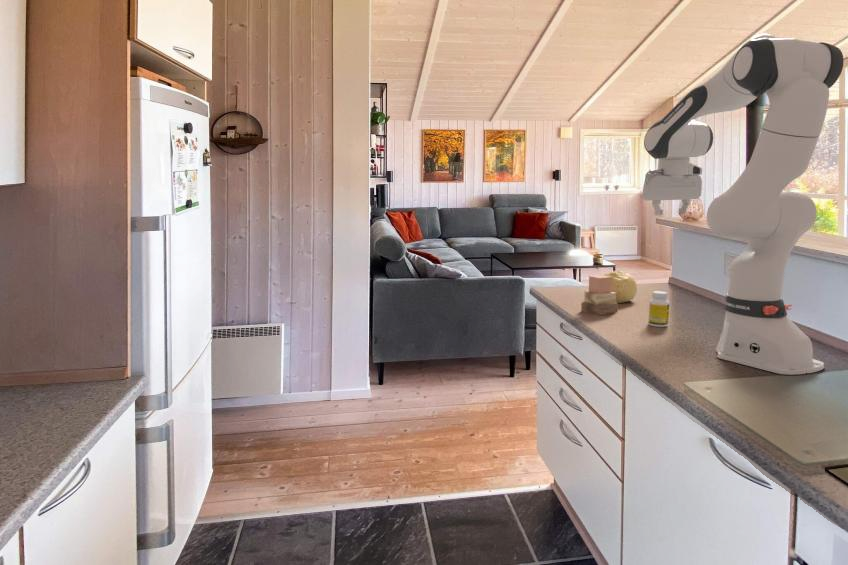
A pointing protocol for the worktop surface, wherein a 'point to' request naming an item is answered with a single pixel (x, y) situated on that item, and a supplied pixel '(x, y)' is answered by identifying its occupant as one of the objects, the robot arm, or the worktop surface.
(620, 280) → the pale yellow rounded lump
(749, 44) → the robot arm
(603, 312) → the bottom block
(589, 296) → the top block
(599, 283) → the cube
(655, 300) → the supplement bottle
